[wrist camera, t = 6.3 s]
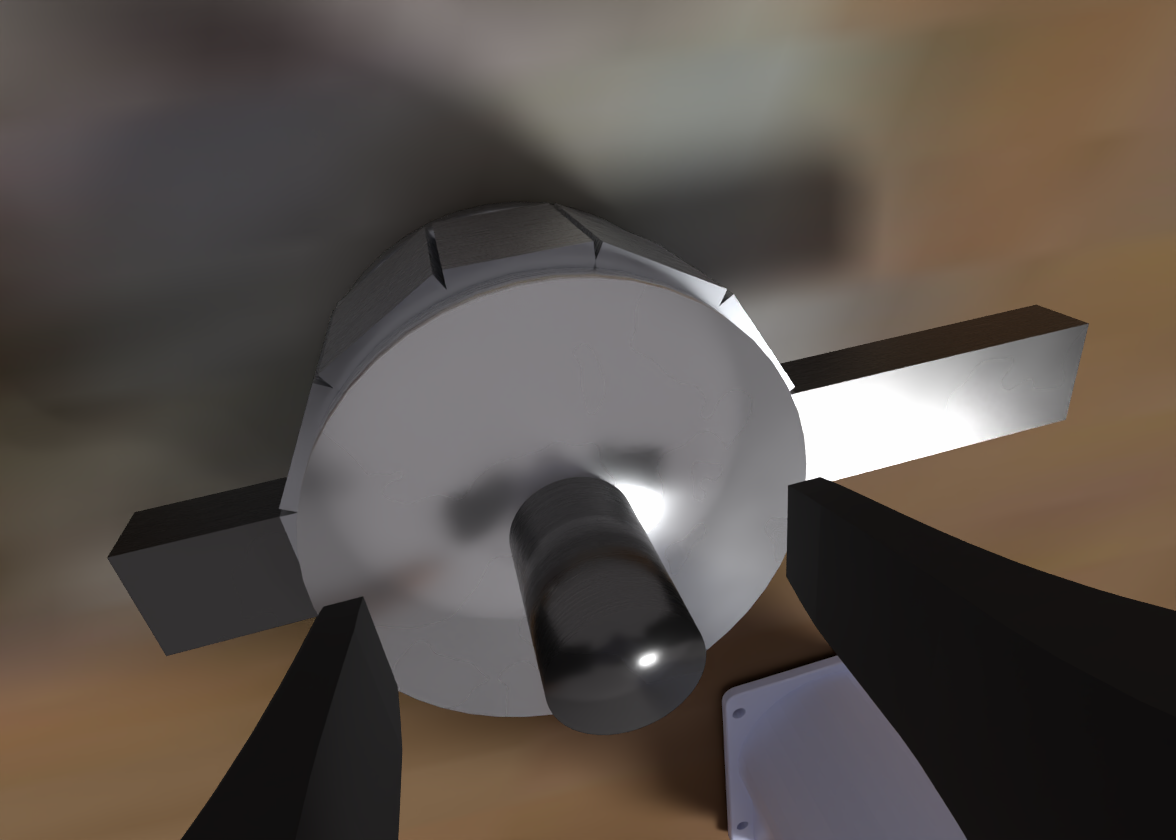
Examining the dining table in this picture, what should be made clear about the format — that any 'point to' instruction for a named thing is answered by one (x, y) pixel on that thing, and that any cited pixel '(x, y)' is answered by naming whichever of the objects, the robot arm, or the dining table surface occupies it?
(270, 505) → the pot
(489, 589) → the lid
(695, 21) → the dining table surface
